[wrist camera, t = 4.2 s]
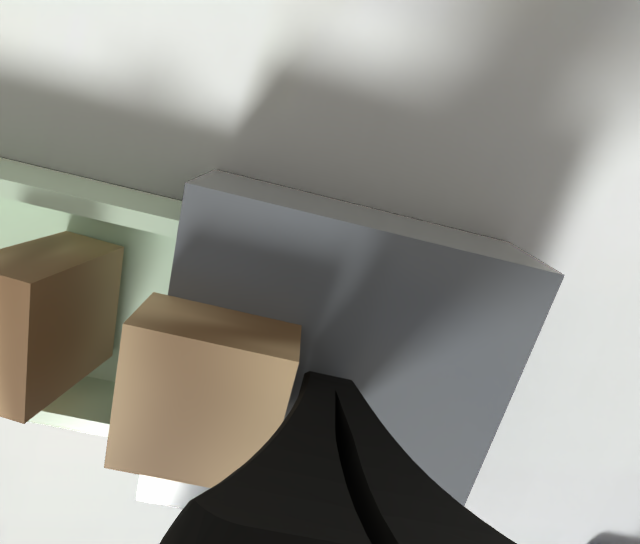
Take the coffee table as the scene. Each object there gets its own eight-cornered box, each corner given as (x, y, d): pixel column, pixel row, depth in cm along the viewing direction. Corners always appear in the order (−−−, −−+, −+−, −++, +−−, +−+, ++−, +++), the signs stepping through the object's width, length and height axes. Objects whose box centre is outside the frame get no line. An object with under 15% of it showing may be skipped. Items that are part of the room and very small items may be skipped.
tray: (200, 205, 15) (179, 221, 12) (168, 399, 17) (144, 444, 15) (-107, 131, 14) (-193, 133, 12) (-99, 345, 16) (-170, 383, 14)
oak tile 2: (30, 283, 11) (-47, 261, 11) (24, 423, 12) (-45, 402, 12) (124, 246, 14) (66, 230, 15) (112, 355, 16) (59, 340, 16)
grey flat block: (509, 242, 15) (564, 275, 12) (418, 477, 18) (442, 556, 15) (215, 169, 14) (184, 182, 11) (170, 428, 17) (135, 500, 14)
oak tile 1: (301, 325, 12) (298, 362, 10) (270, 445, 13) (263, 497, 12) (153, 292, 12) (122, 323, 10) (134, 417, 13) (104, 467, 11)
